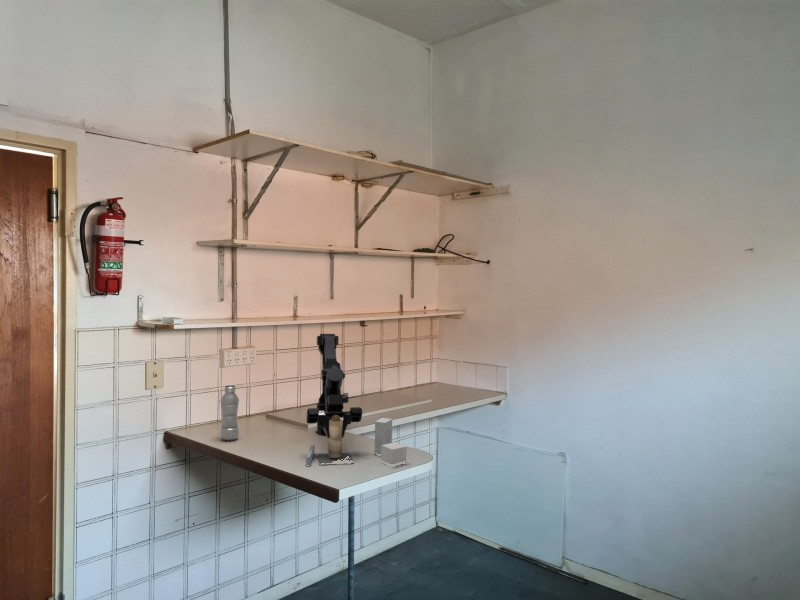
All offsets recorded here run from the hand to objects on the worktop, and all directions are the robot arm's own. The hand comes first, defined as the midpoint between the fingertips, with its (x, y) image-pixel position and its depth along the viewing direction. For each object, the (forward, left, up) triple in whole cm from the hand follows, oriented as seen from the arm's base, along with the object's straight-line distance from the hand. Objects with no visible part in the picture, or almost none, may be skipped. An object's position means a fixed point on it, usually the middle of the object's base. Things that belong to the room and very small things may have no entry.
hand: (335, 437), depth 194 cm
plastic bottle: (+16, -44, -8) cm, 48 cm away
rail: (+6, -6, -8) cm, 12 cm away
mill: (-1, -1, -7) cm, 7 cm away
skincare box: (-18, +4, -8) cm, 20 cm away
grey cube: (-14, +14, -8) cm, 21 cm away
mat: (-1, -1, -8) cm, 8 cm away
